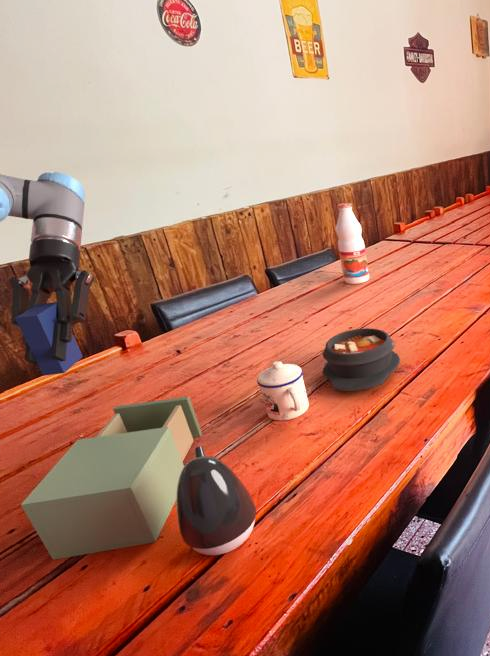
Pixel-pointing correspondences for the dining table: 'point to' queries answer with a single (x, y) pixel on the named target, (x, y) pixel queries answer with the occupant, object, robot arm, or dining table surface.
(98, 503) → the cabinet
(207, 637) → the dining table surface
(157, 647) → the dining table surface
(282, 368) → the teacup with lid
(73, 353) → the rectangular block
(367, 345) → the casserole
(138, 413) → the drawer
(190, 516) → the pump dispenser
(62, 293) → the robot arm
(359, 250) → the fruit juice
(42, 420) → the dining table surface
